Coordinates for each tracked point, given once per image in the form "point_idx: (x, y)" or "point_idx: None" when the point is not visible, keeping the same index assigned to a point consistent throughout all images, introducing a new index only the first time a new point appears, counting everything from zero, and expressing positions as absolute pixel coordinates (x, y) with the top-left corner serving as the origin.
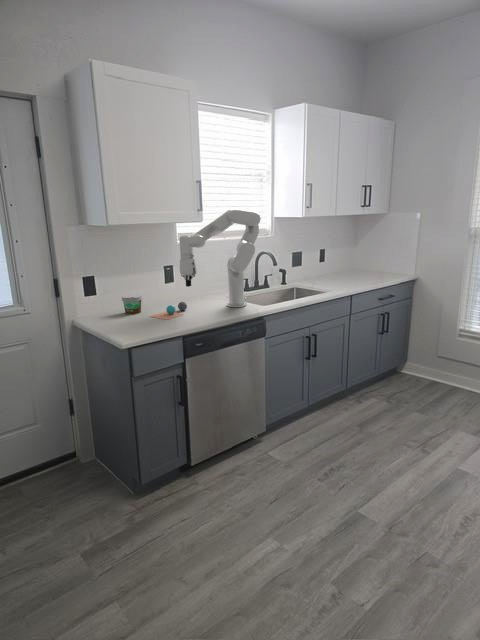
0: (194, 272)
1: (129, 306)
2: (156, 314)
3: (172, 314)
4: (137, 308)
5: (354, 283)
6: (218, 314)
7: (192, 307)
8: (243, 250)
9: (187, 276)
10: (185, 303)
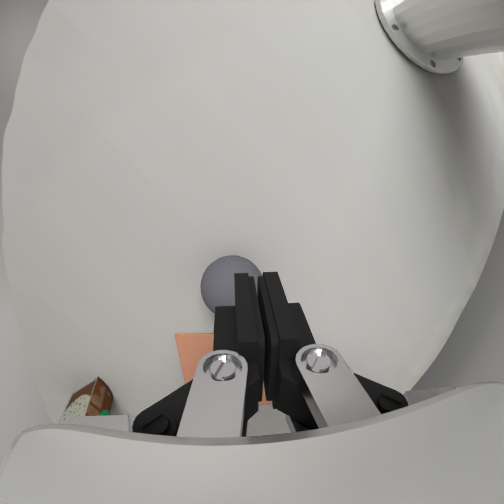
0: (484, 439)
1: None
2: None
3: None
4: (108, 409)
5: None
6: (442, 234)
7: (224, 169)
8: None
9: (220, 420)
10: (256, 288)
